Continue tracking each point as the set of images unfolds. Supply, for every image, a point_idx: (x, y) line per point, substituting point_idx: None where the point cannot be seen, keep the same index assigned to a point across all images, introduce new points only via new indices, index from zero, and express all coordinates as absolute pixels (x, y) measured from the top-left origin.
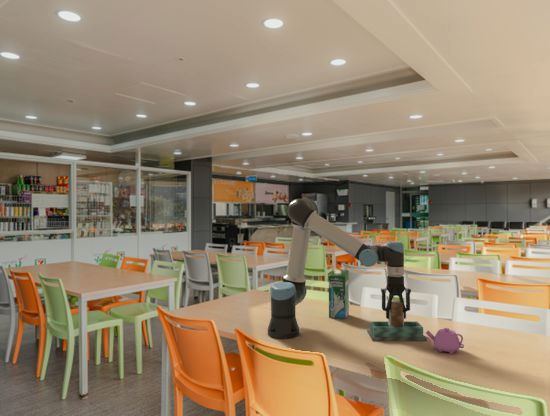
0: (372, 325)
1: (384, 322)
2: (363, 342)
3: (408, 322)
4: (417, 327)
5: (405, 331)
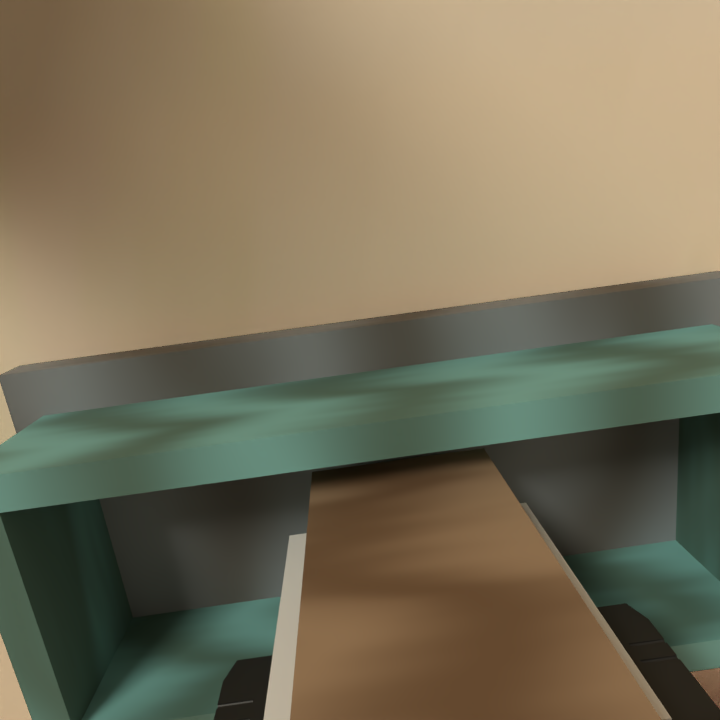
0: (20, 671)
1: (226, 477)
2: (13, 709)
3: (662, 418)
4: (716, 663)
5: None
